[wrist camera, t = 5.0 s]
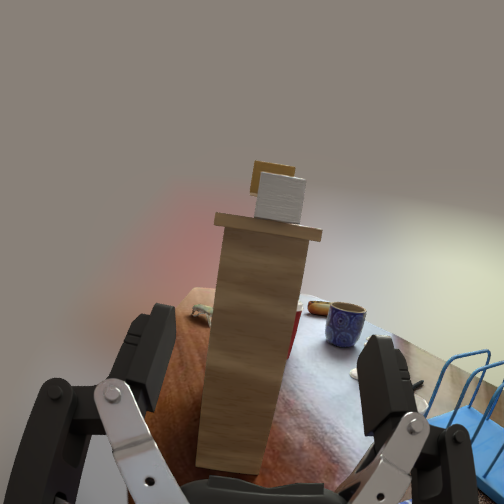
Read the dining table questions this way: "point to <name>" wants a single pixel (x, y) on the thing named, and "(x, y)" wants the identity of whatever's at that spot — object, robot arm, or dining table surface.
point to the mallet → (277, 192)
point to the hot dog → (319, 307)
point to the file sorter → (478, 432)
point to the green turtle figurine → (203, 311)
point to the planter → (344, 324)
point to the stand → (249, 338)
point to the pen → (417, 384)
